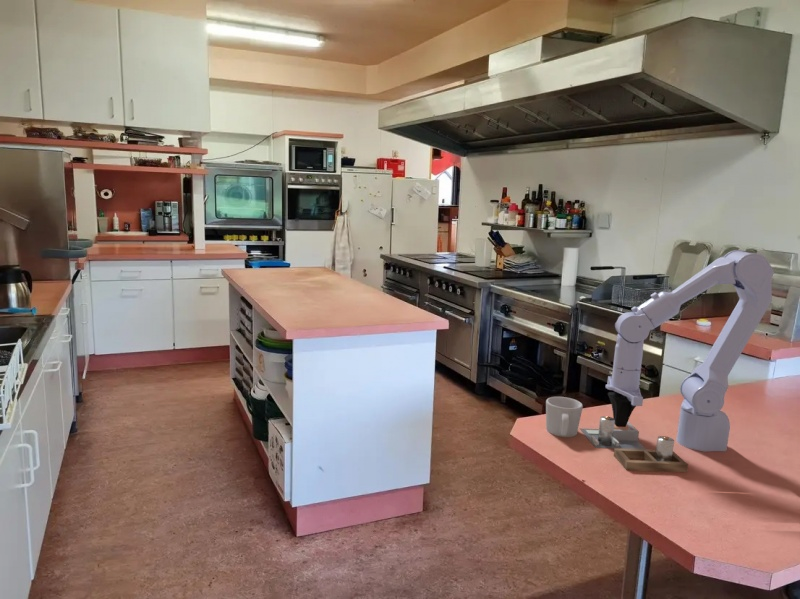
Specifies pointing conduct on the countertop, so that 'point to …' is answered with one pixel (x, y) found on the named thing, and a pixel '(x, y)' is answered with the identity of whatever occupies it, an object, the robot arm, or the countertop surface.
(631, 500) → the countertop surface
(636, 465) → the wooden divided tray
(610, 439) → the cylinder
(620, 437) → the grey board with box
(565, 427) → the cup
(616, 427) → the button
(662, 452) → the cell
